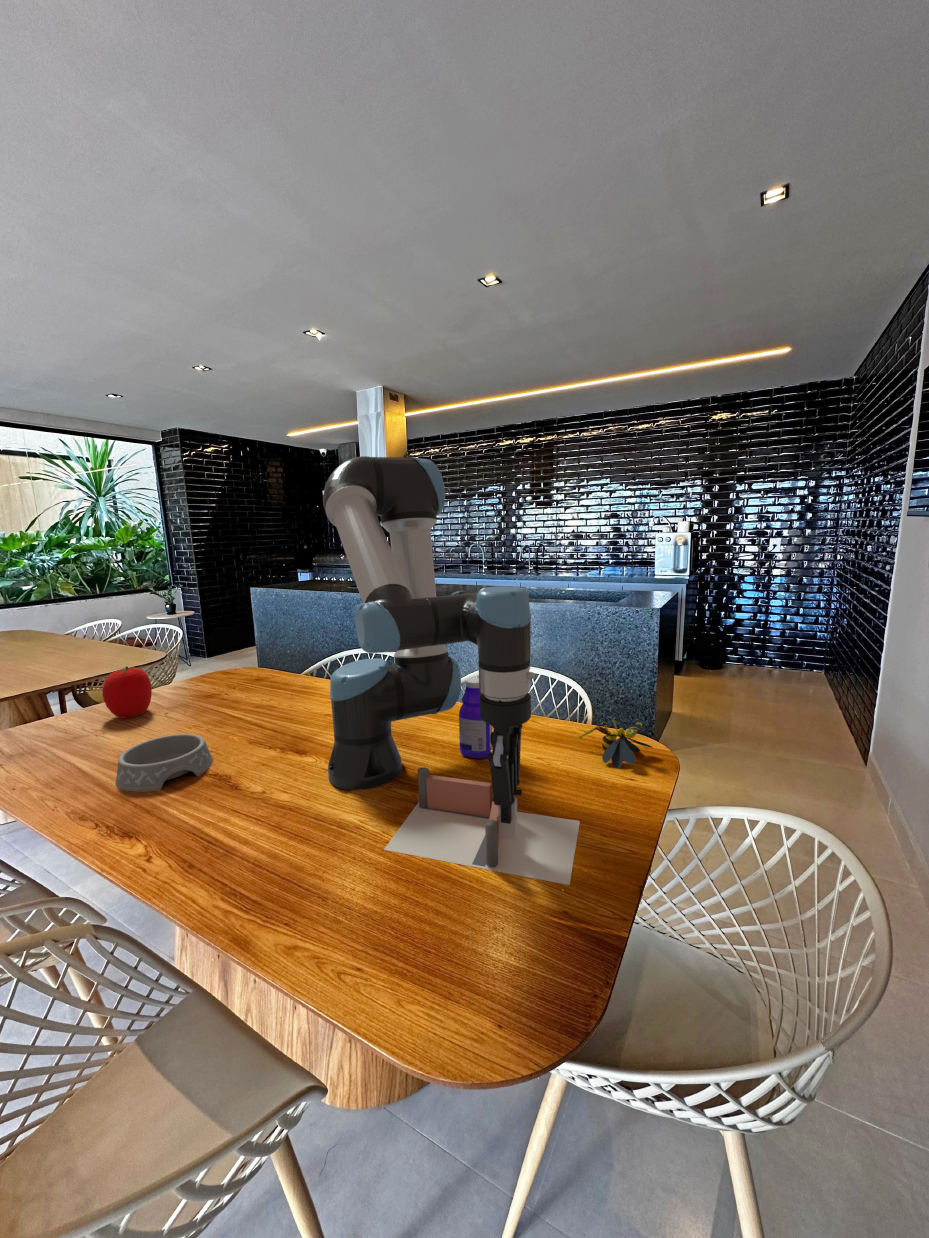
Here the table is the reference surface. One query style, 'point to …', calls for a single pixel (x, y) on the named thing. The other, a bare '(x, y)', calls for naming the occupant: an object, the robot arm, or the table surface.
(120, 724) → the table surface
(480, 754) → the bottle
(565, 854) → the card
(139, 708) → the tomato
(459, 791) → the fence fixed
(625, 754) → the toy
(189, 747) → the dog bowl
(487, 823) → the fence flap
